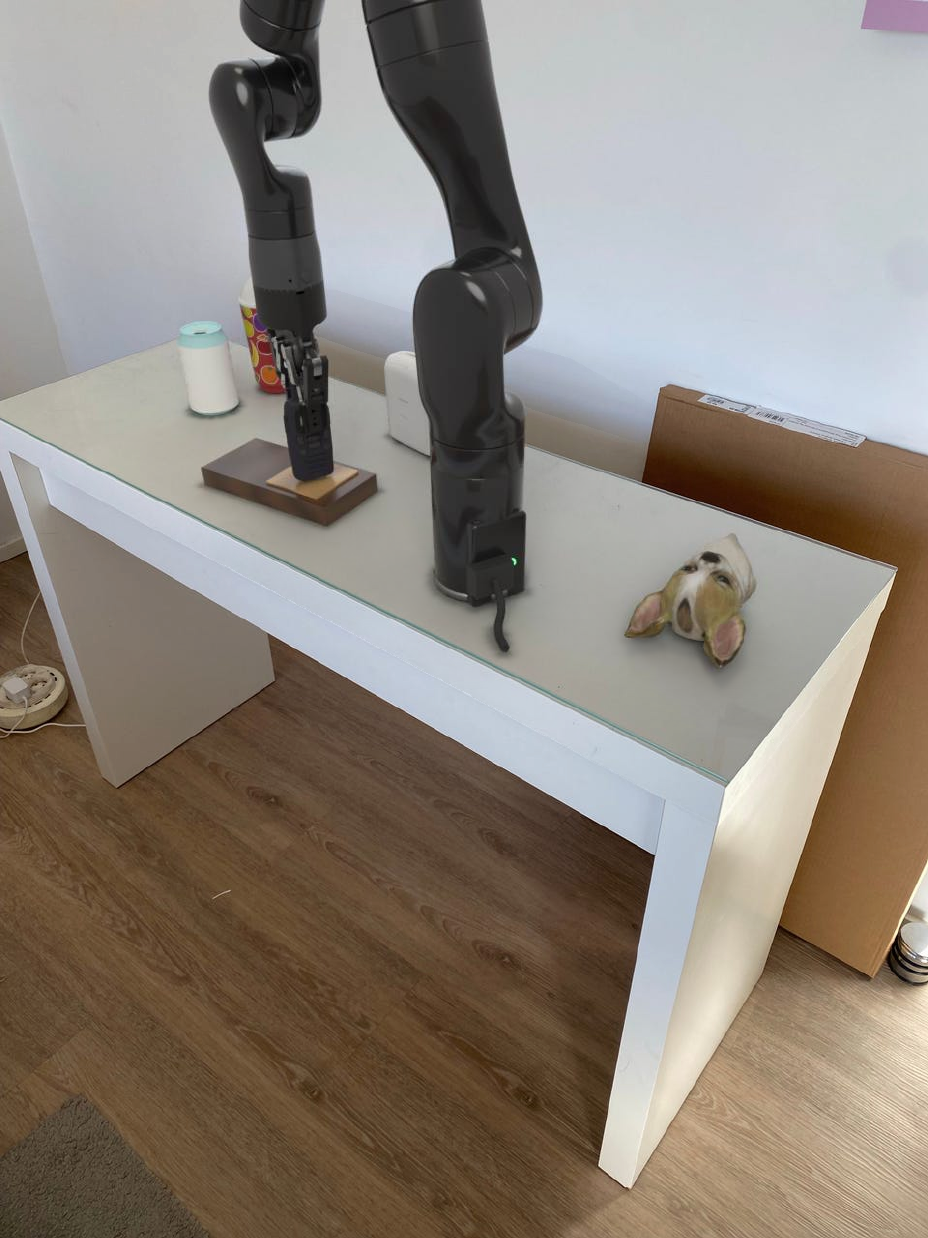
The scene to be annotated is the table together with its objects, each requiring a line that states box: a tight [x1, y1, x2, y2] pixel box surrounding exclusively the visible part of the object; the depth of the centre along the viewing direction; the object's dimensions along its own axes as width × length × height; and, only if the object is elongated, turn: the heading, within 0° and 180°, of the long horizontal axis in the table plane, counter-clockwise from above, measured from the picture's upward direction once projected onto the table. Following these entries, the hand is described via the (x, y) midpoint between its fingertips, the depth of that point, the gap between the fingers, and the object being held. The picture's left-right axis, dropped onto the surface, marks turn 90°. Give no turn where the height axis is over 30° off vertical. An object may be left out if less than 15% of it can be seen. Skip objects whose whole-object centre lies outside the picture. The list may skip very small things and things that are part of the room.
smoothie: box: [237, 275, 287, 394], centre depth 135 cm, size 8×8×20 cm
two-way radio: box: [283, 376, 334, 481], centre depth 106 cm, size 6×4×15 cm
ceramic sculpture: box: [624, 532, 758, 670], centre depth 87 cm, size 11×9×15 cm
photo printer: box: [383, 350, 430, 457], centre depth 121 cm, size 10×4×12 cm, turn 39°
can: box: [176, 320, 240, 416], centre depth 131 cm, size 7×7×12 cm
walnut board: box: [200, 437, 379, 527], centre depth 114 cm, size 20×10×3 cm, turn 58°
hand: (306, 424), depth 107 cm, fingers closed on two-way radio, 4 cm apart
